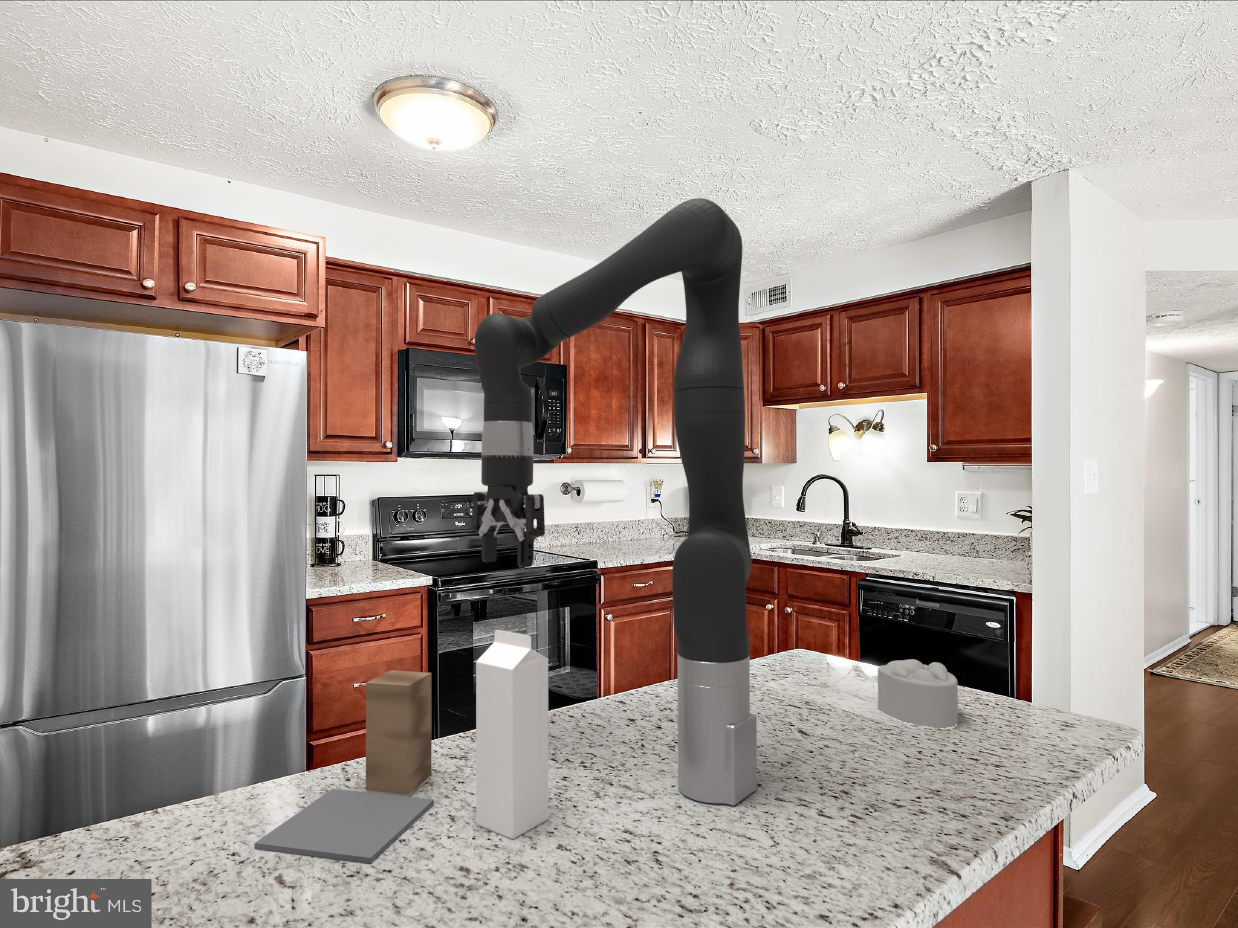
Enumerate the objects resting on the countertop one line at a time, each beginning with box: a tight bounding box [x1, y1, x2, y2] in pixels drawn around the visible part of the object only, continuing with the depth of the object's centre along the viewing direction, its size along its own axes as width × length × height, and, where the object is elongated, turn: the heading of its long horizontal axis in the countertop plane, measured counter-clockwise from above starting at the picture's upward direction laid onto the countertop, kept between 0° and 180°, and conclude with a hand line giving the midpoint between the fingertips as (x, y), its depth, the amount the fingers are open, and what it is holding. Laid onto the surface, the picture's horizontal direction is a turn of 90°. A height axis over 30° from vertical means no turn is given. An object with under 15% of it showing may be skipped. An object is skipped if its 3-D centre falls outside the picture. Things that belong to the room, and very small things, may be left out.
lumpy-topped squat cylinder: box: [877, 658, 959, 728], centre depth 121 cm, size 10×13×9 cm
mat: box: [253, 788, 435, 864], centre depth 84 cm, size 14×14×1 cm
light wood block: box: [365, 670, 432, 797], centre depth 95 cm, size 6×6×14 cm
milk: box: [475, 629, 549, 840], centre depth 85 cm, size 6×6×22 cm
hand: (506, 564), depth 107 cm, fingers open, 8 cm apart
